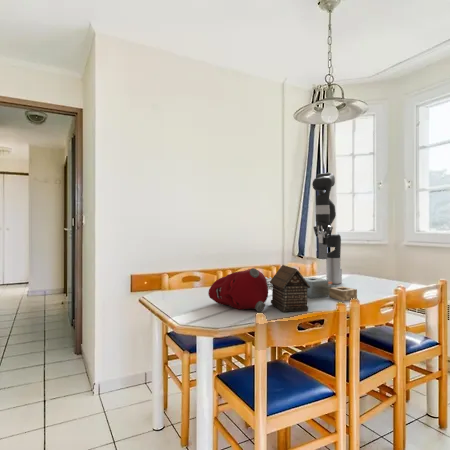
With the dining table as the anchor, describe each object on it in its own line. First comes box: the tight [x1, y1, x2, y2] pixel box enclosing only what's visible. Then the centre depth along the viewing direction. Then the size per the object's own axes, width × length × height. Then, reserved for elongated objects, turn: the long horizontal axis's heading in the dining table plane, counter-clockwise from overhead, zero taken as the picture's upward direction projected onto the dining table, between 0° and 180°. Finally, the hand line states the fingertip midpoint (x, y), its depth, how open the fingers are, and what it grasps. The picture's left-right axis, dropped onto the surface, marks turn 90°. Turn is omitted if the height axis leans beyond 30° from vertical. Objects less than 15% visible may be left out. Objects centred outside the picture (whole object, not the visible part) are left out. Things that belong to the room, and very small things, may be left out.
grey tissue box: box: [303, 276, 338, 299], centre depth 194 cm, size 20×12×9 cm, turn 116°
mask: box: [207, 267, 269, 313], centre depth 170 cm, size 20×26×30 cm
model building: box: [270, 264, 310, 313], centre depth 166 cm, size 18×14×20 cm
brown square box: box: [329, 286, 358, 302], centre depth 185 cm, size 10×10×5 cm
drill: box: [318, 234, 328, 260], centre depth 190 cm, size 3×3×14 cm
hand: (322, 244), depth 190 cm, fingers closed on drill, 3 cm apart
